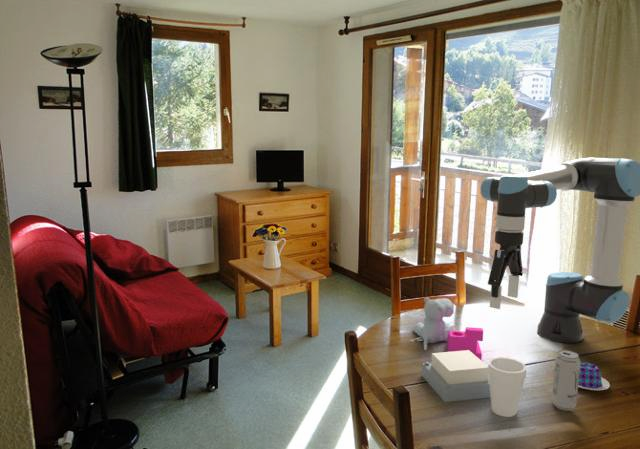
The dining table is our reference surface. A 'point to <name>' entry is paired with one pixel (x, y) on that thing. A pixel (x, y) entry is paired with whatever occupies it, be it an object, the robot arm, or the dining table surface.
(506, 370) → the foam cup
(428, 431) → the dining table surface
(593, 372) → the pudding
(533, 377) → the dining table surface
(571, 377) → the energy drink can
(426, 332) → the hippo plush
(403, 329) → the dining table surface
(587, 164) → the robot arm
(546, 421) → the dining table surface
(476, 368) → the cream and grey box
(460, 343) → the bracket
